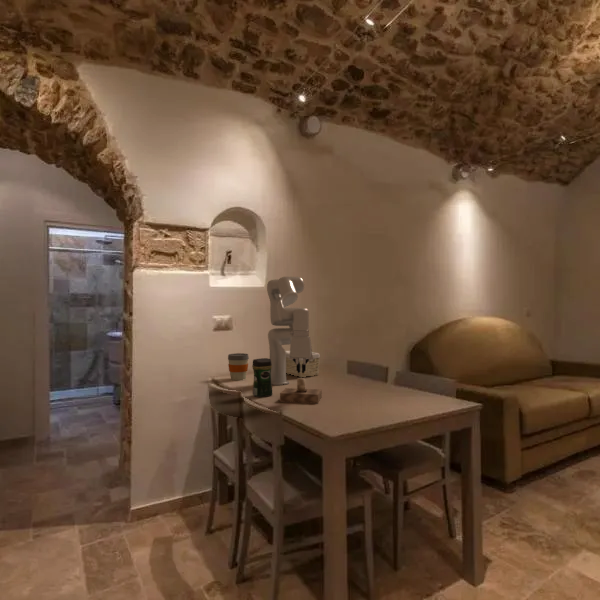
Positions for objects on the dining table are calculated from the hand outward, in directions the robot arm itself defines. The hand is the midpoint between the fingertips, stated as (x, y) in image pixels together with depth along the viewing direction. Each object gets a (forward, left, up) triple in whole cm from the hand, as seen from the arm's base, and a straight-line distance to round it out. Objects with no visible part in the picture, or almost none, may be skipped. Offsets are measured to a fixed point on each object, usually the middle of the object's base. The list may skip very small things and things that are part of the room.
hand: (301, 372), depth 206 cm
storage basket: (-14, +71, -14) cm, 73 cm away
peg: (0, 0, -13) cm, 13 cm away
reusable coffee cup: (-48, +48, -13) cm, 69 cm away
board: (0, 0, -13) cm, 13 cm away
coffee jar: (-21, +6, -13) cm, 26 cm away
